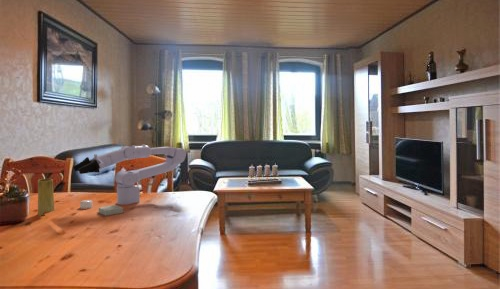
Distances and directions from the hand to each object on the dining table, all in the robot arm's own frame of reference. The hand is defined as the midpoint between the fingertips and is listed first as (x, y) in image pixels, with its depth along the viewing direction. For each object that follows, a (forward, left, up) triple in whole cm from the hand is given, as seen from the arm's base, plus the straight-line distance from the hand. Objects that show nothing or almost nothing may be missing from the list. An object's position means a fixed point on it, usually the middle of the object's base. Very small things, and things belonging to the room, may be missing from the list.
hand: (76, 170), depth 132 cm
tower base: (-8, +14, -19) cm, 25 cm away
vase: (+10, -7, -18) cm, 22 cm away
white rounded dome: (-4, -2, -18) cm, 19 cm away
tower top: (-8, +14, -17) cm, 23 cm away
